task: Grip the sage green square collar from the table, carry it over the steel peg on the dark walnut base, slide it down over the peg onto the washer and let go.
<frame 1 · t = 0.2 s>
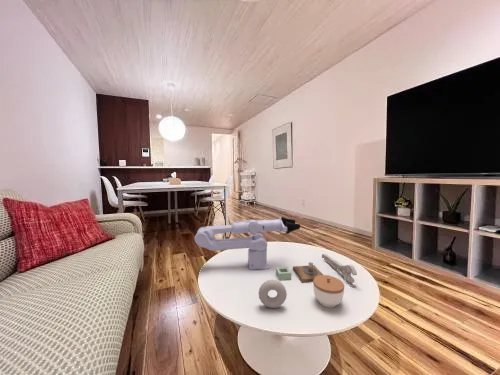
hand: (297, 224, 107), 21 cm above the table, tool horizontal, fingers open, 7 cm apart
collar: (283, 276, 97), on the table
donut: (272, 307, 75), on the table
wrench: (336, 271, 102), on the table
peg base: (308, 274, 98), on the table
lidded jar: (327, 302, 78), on the table
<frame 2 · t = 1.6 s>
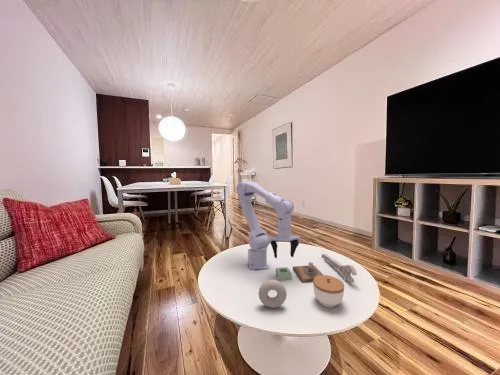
hand: (283, 256, 96), 9 cm above the table, tool pointing down, fingers open, 7 cm apart
nothing on the table moved.
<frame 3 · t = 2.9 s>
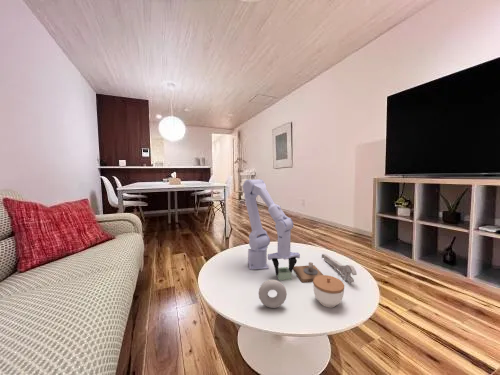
hand: (283, 273, 96), 1 cm above the table, tool pointing down, fingers closed on collar, 6 cm apart
collar: (283, 276, 97), on the table, touching gripper
everything else where it was.
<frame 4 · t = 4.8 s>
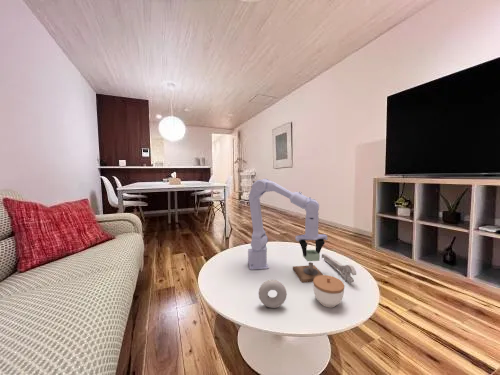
hand: (310, 255, 97), 9 cm above the table, tool pointing down, fingers closed on collar, 6 cm apart
collar: (310, 258, 97), point 8 cm above the table, touching gripper
everything else where it was.
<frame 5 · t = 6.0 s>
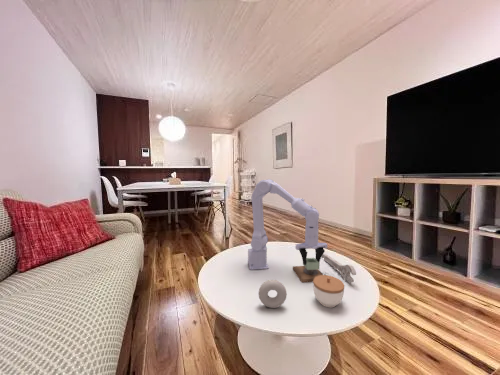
hand: (310, 263, 98), 5 cm above the table, tool pointing down, fingers closed on collar, 6 cm apart
collar: (310, 266, 98), point 4 cm above the table, touching gripper
everything else where it was.
when the fingers open (4 cm above the table, at t = 6.8 s): collar stays where it is, resting on peg base.
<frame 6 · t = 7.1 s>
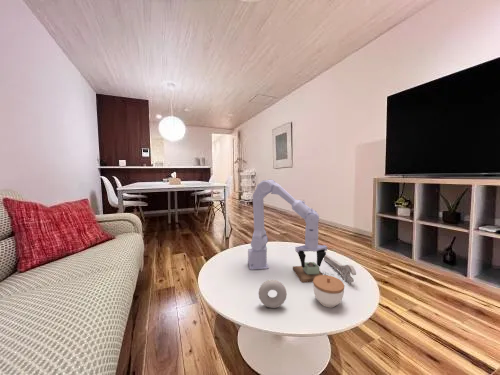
hand: (310, 266, 98), 4 cm above the table, tool pointing down, fingers open, 7 cm apart
collar: (310, 271, 98), point 2 cm above the table, touching peg base
everything else where it was.
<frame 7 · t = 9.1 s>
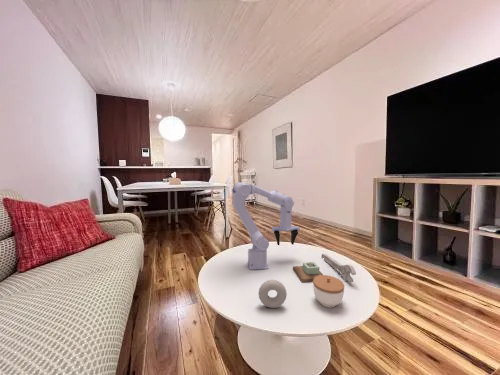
hand: (285, 244, 111), 9 cm above the table, tool pointing down, fingers open, 7 cm apart
nothing on the table moved.
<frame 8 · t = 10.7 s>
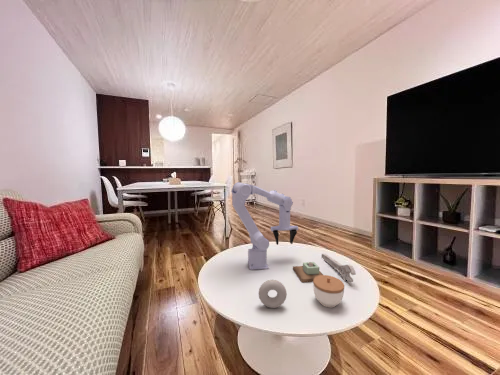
hand: (284, 243, 112), 9 cm above the table, tool pointing down, fingers open, 7 cm apart
nothing on the table moved.
at the end: collar 0.1 cm from the target spot on the peg base, point 1.8 cm above the peg base's base; collar tilted 0°; the gripper is holding nothing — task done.
